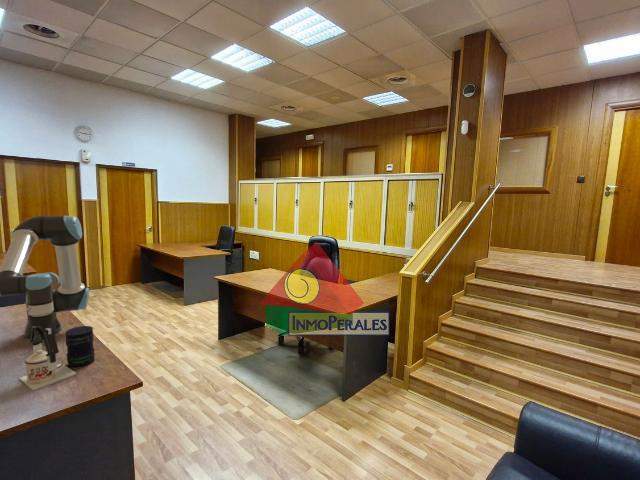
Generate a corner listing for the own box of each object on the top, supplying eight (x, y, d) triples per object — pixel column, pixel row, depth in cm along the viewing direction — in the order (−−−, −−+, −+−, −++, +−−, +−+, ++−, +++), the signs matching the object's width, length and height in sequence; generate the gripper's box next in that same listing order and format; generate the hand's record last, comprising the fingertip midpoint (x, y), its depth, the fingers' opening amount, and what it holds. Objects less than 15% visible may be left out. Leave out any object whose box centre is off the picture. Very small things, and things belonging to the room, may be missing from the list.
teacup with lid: (25, 387, 123) (22, 358, 122) (27, 376, 130) (25, 349, 129) (65, 377, 131) (63, 349, 129) (65, 368, 138) (63, 341, 136)
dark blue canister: (63, 369, 137) (61, 336, 136) (71, 359, 147) (69, 327, 145) (91, 366, 141) (89, 333, 139) (97, 355, 150) (95, 324, 148)
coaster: (19, 379, 130) (19, 377, 130) (61, 364, 142) (61, 363, 142) (33, 390, 122) (33, 389, 122) (76, 374, 134) (76, 373, 134)
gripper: (17, 309, 131) (21, 359, 133) (42, 323, 118) (46, 378, 120) (40, 304, 137) (44, 352, 140) (66, 317, 124) (70, 369, 127)
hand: (45, 364), depth 130 cm, fingers open, 13 cm apart
